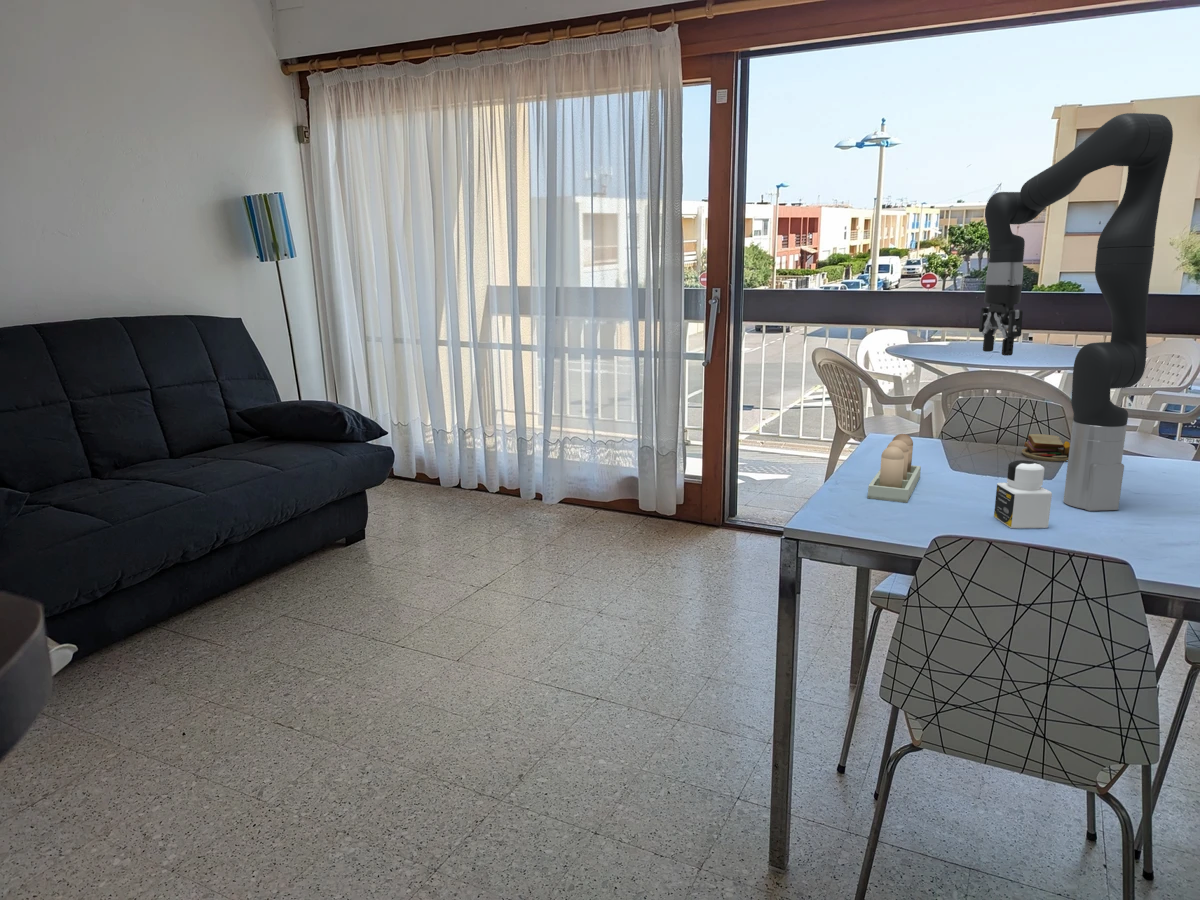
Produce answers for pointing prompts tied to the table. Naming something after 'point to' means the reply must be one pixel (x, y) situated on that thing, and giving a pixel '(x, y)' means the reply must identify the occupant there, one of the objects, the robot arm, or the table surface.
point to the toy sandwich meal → (1046, 448)
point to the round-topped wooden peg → (909, 443)
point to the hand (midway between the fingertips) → (997, 353)
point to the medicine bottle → (1023, 497)
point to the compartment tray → (894, 475)
